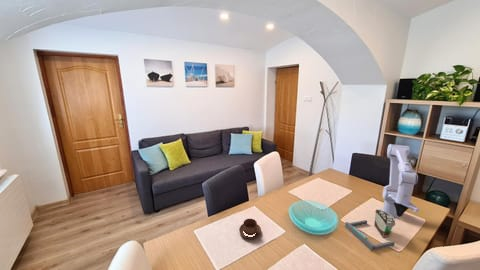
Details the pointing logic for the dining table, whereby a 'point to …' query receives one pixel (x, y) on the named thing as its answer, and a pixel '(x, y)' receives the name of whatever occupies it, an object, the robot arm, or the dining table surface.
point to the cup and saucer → (250, 228)
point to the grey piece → (363, 239)
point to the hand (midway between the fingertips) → (399, 215)
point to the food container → (384, 223)
